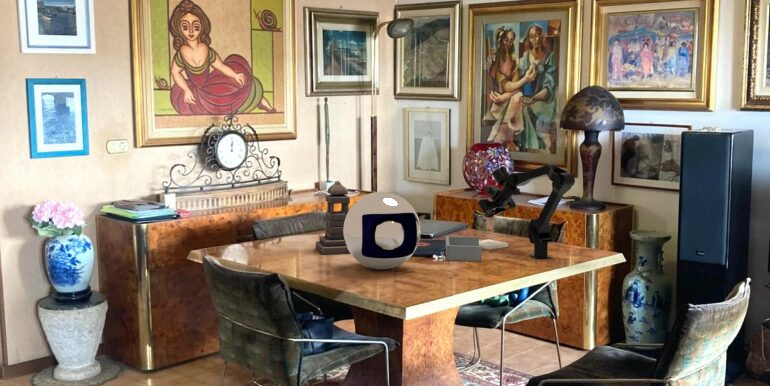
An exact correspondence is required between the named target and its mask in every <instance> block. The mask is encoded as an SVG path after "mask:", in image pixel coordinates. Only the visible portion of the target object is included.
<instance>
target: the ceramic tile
mask: <svg viewBox="0 0 770 386" xmlns="http://www.w3.org/2000/svg"><path fill="white" fill-rule="evenodd" d="M479 246H482V249H484V250H493V249H494V250H495V249H501V248H507V247H509V243H508V242H503V241H499V240H494V239H483V240H479Z"/></svg>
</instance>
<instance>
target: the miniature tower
mask: <svg viewBox="0 0 770 386" xmlns="http://www.w3.org/2000/svg"><path fill="white" fill-rule="evenodd" d="M326 192H327V194H325V202H327V204H326V205H327V206H326V207H327V211H325V231H324V235H319V240H317V241H315V249H316V250H317V251H318V252H319V253H320V254H321V255H323V256H325V255H326V256H327V255H351V253H350V252H349V250H348V248H347V246H346V244H345V241H344V235H343V226H344V221H345V218H346V215H347V213H348V211H349V210H350V208H349V207H350V206H349V204H350V203H351V197H350V196H349V195H348V194H349V191H348V189H347V188H346V187H345V186H344V185H342V183H341V182H340V180H336V181H335V182H334V184H331V186H329V187H328V188H327V191H326ZM334 204H335V205H338V204H341V207H340V208H341V209H340V210H335V211H334V208H335V207H334V206H335V205H334Z"/></svg>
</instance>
